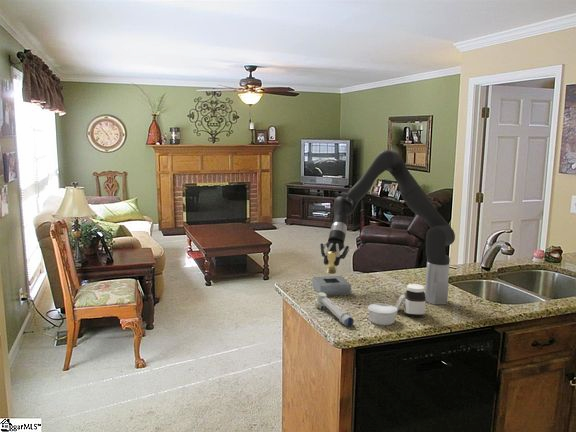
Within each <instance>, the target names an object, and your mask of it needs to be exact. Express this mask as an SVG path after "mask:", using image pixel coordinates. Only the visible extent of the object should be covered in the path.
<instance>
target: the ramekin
mask: <svg viewBox="0 0 576 432" xmlns="http://www.w3.org/2000/svg"><path fill="white" fill-rule="evenodd" d="M367 311H368V319H369V320H370V322H371V323H372V324H375V325H378V326H389V325H390V326H391V325H393V324H394V323H395V321H396V317H397V314H398V311H397V308H396V307H395V305H391V304H387V303H381V302H379V303H372V304H369V305H368V306H367ZM392 323H393V324H392Z"/></svg>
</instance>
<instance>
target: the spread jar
mask: <svg viewBox="0 0 576 432" xmlns="http://www.w3.org/2000/svg"><path fill="white" fill-rule="evenodd" d="M402 304H403V310H404V311H403V312H404V315H406V316H407V315H408V316H407V317H410V316H411V318H421V317H424V316H425V314H426V306H427V305H426V304H427V302H426V296H425V285H422V284H418V283H408V284H407V285H406V290H405V293H404V294H400V296H399V298H398V299H397V301H396V304H395V305H394V307H396V308H397V312H398V311H400V308H401V306H402Z"/></svg>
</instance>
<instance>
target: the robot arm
mask: <svg viewBox="0 0 576 432" xmlns="http://www.w3.org/2000/svg"><path fill="white" fill-rule="evenodd" d="M384 172H389V173H390V174H391V176H392V177H393V178H394V179H395V181H396V183H397V186H398V189H399V193H400V195H401V198H402V199H403V201H404V202H405V204H406V205H407V207H408V208H409V209H410V211H411V212H413V213H414V214H416V215H417V216H418V217H419V218H421V219H422V220H424V221H425V222H426V223H427V225H428V227H429V229H428V230H427V231H426V235H425V256H426V273H425V284H424V287H425V290H424V292H425V296H426V303H429V304H433V305H447V304H448V299H449V284H450V282H449V273H450V264H451V263H450V262H451V259H450V256H449V255H447V254H446V247H448V246H450V245H453V243H454V242H455V239H456V234H455V231H454V230H453V228H452V226H451V225H450V224H449V223H448V222H447V220H445V218H444V217H443V216H442V214H441V213H440V212H439V211H438V210H437V208H436V207H435V206H434V204H433V202H431V200H430V198H428V196H427V194H426V193H425V191H424V190H423V188H422V187H421V186H420V185H419V182H417V180H416V179H415V178H414V177H413V175H412V173H410V171H409V169H408V167H407V165H406V163H405V162H404V160H403V158H402V157H401V155H400V154H399V153H398V152H396V151H393V150H390V149H389V150H388V149H384V150H382V151H381V152H379V153H378V154H377V156H376V157H375V158H374V160H373V161H372V163H370V165H369V167H368V168H367V170H366V171H365V173H364V174H363V175H362V176H361V177H360V178H359V180H358V181H357V182H355V184H354V185H353V186H352V187H351V188H350V189H349V190H348V191H347V195H348V198H350V200H351V201H350V200H349V199H347V198H346V197H344V196H340V195H339V196H338V197H337V196H336V198H335V199H334V202H333V203H332V204H333V205H332V210H333V211H332V212H333V220H332V224H331V227H330V231H329V234H328V235H329V236H328V239H327V242H326V243H320V245H319V246H320V253H321V256H322V257H323V264H324V265H325V266H327V252H328V251H336V252H337V258H336V262H335V266H337V267H338V266H340V261H341V260H342V259H343V260H344V259H345V258H346V257H347V255H348V253H349V252H350V247H349V245H347V246H346V245H345V239H346V236H347V232H348V230H347V228H348V223H349V216H350V215H353V213H354V212H355V209H356V208H357V206H358V204H359V203H360V201H361V199H363V198H364V197H365V196H366V195H367V193H369V192H370V190H371V189H372V186H373V185H374V183H375V181H376V180H377V178H378V177H379V176H380V175H381V174H383V173H384ZM326 248H327V249H326ZM325 249H326V251H325ZM342 250H343V252H342V254H341V251H342Z"/></svg>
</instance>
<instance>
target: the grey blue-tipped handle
mask: <svg viewBox="0 0 576 432" xmlns="http://www.w3.org/2000/svg"><path fill="white" fill-rule="evenodd" d="M314 302H315V308H316V309H320V310H326V309H328V310H329V311H330V312H331V313H332V314H333V315H334V316H335V317H336V318H337V319H338V321H339V322H340V323H341V324H343V325H344V326H345V327H351V326H353V325H354V323H355V320H354V319H353V317H352V316H351V315H350V314H349V312H348V311H347V312H346V311H345V310H343V309H342V308H341V307H339V306H338V305H337V304H336V303H335V302H333V301H332V300H331V299H329V298H328V295H326V294H325V293H323V292H320V293H317V297H316V298H315V299H314Z"/></svg>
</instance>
